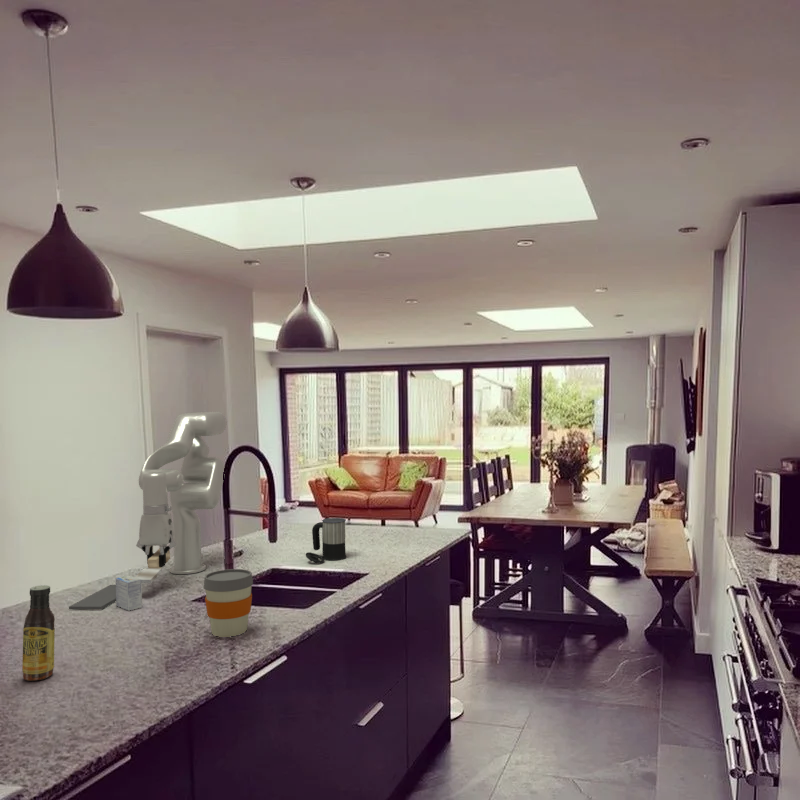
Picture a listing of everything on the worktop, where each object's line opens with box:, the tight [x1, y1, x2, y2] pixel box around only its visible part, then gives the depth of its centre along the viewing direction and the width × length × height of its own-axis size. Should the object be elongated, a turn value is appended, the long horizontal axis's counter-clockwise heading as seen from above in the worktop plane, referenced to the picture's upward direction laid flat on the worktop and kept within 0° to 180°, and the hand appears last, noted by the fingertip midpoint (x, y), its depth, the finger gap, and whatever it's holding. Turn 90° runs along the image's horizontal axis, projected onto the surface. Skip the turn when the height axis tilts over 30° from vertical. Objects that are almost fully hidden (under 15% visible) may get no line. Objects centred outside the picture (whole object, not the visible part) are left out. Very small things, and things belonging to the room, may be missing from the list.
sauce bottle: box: [21, 584, 56, 682], centre depth 150 cm, size 6×6×20 cm
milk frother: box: [305, 517, 347, 564], centre depth 256 cm, size 14×16×15 cm
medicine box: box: [115, 574, 143, 612], centre depth 201 cm, size 8×4×9 cm, turn 48°
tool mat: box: [68, 584, 116, 610], centre depth 211 cm, size 24×10×1 cm, turn 175°
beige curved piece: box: [134, 547, 171, 584], centre depth 218 cm, size 18×6×4 cm, turn 175°
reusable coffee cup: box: [203, 568, 254, 638], centre depth 177 cm, size 13×13×15 cm
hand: (156, 565), depth 220 cm, fingers closed on beige curved piece, 3 cm apart
